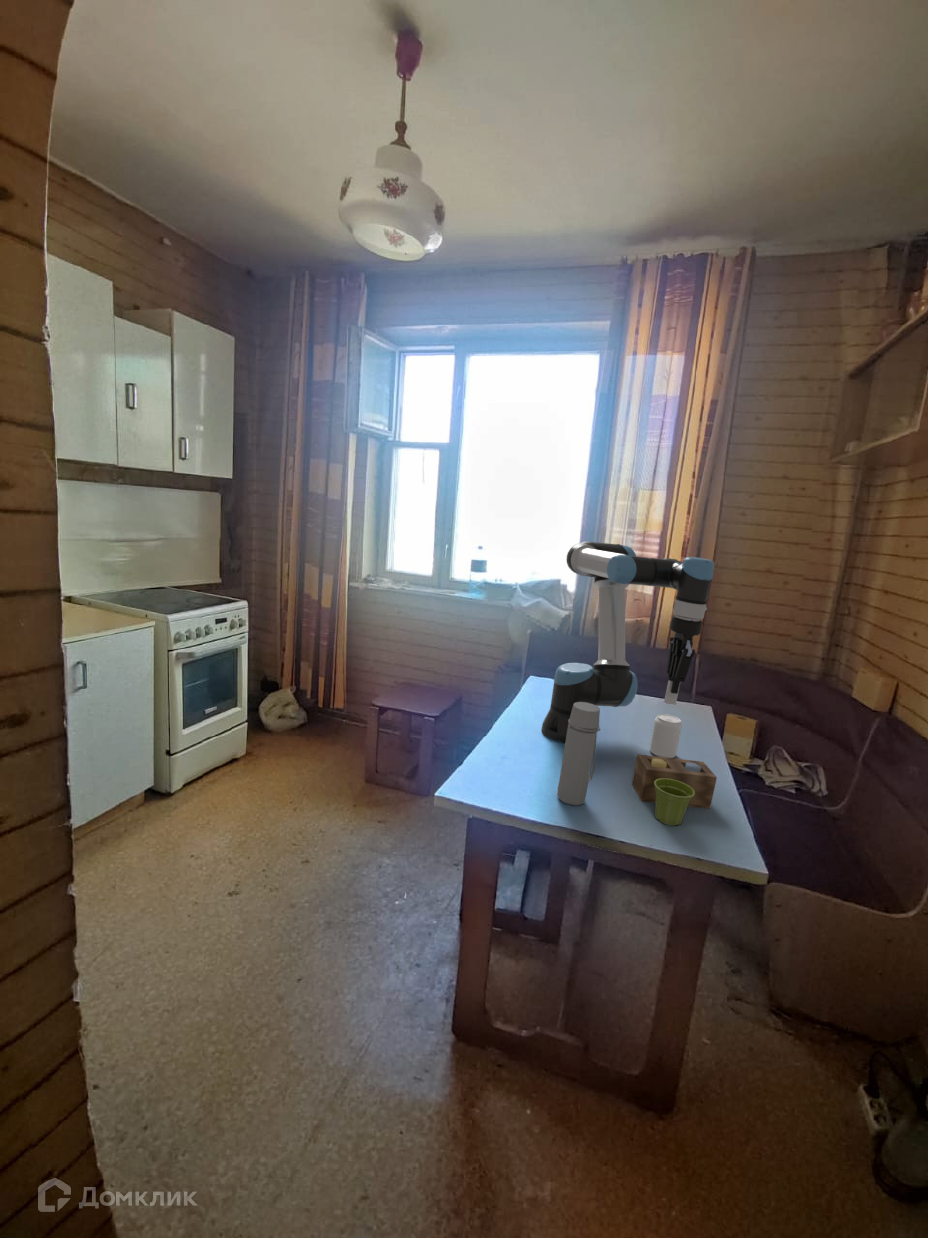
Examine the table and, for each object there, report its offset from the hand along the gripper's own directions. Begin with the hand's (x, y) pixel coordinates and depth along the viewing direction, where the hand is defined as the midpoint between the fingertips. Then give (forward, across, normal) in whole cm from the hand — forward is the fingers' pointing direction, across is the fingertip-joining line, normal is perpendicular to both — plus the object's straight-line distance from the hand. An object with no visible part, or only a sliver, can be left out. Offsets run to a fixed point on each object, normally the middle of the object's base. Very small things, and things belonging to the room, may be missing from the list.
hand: (669, 703), depth 154 cm
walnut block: (+24, -6, -3) cm, 25 cm away
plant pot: (+24, -18, +1) cm, 30 cm away
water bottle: (+24, -14, +24) cm, 37 cm away
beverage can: (+25, +23, -9) cm, 35 cm away
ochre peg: (+23, -6, +2) cm, 23 cm away
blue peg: (+23, -5, -7) cm, 24 cm away
